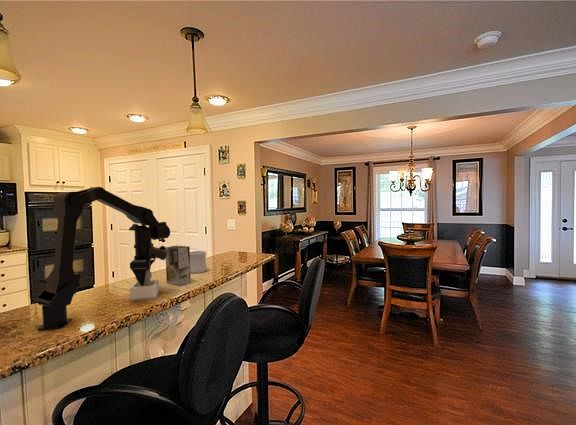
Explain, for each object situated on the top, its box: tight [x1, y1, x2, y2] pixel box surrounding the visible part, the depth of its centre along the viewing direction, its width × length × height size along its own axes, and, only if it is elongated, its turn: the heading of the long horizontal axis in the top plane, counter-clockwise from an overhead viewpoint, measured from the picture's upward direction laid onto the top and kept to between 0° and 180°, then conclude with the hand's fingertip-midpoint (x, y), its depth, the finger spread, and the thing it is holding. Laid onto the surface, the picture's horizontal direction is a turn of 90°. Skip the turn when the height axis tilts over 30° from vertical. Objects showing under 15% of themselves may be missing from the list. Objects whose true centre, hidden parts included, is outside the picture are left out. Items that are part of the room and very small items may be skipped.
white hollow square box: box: [129, 279, 160, 302], centre depth 115 cm, size 9×9×5 cm
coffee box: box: [165, 245, 192, 286], centre depth 133 cm, size 9×6×16 cm
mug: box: [190, 250, 208, 274], centre depth 153 cm, size 12×9×10 cm
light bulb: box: [135, 269, 153, 286], centre depth 114 cm, size 6×6×10 cm
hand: (144, 282), depth 115 cm, fingers open, 9 cm apart
